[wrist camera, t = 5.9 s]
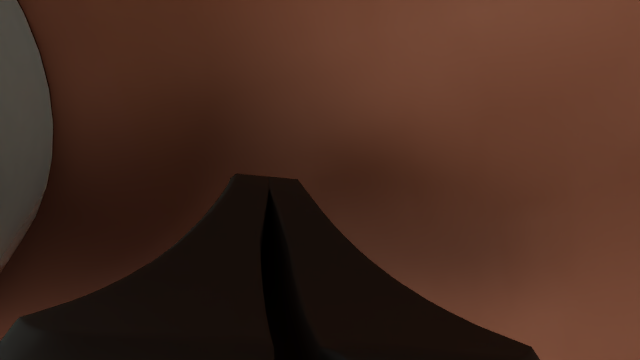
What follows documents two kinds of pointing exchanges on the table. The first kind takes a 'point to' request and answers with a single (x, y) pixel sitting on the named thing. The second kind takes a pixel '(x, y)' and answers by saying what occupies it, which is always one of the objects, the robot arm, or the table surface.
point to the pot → (21, 128)
